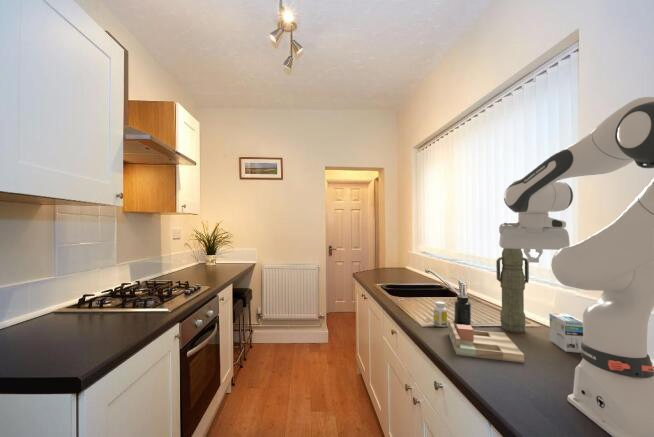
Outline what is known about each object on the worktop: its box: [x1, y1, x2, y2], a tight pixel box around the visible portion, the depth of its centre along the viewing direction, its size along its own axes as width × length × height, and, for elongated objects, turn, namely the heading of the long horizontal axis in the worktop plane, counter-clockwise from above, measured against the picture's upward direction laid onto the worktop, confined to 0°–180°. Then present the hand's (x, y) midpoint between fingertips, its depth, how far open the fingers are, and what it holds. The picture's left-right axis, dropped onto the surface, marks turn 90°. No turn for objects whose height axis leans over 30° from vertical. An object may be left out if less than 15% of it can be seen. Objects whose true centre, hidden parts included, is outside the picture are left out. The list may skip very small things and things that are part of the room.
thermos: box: [495, 248, 530, 334], centre depth 125 cm, size 9×12×35 cm
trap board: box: [448, 320, 525, 364], centre depth 106 cm, size 20×20×6 cm
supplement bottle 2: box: [453, 294, 472, 325], centre depth 133 cm, size 7×7×12 cm
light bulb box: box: [548, 312, 583, 354], centre depth 107 cm, size 11×7×11 cm, turn 168°
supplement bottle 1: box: [433, 301, 448, 328], centre depth 130 cm, size 5×5×10 cm
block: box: [455, 323, 474, 341], centre depth 108 cm, size 5×5×4 cm
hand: (533, 262), depth 102 cm, fingers closed
